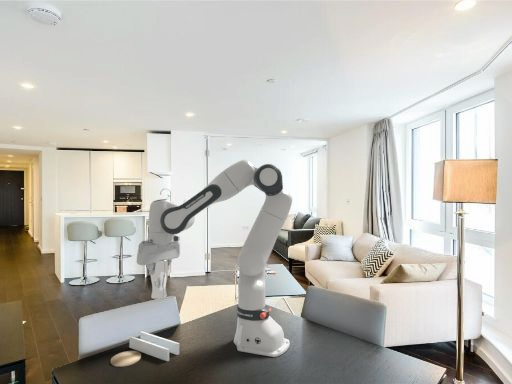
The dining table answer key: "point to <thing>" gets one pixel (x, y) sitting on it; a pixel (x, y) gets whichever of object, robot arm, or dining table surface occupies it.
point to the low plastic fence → (154, 345)
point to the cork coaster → (125, 358)
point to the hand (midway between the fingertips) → (159, 272)
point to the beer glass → (159, 279)
